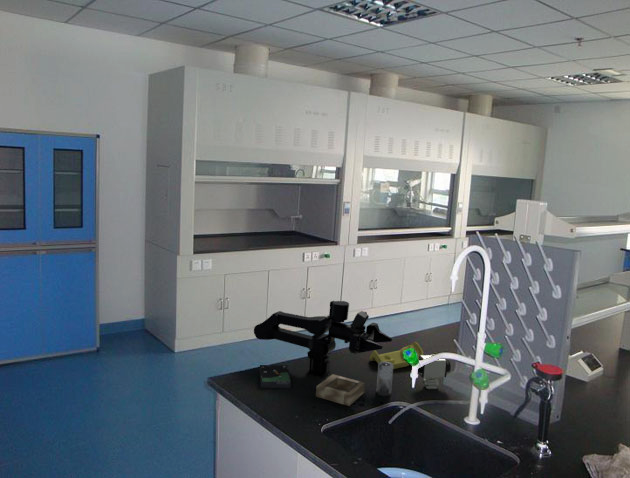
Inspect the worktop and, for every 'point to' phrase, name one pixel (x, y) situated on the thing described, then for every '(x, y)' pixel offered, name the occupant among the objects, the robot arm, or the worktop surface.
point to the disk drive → (275, 376)
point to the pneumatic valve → (433, 371)
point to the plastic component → (395, 356)
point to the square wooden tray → (340, 389)
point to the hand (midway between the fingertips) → (387, 343)
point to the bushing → (384, 378)
